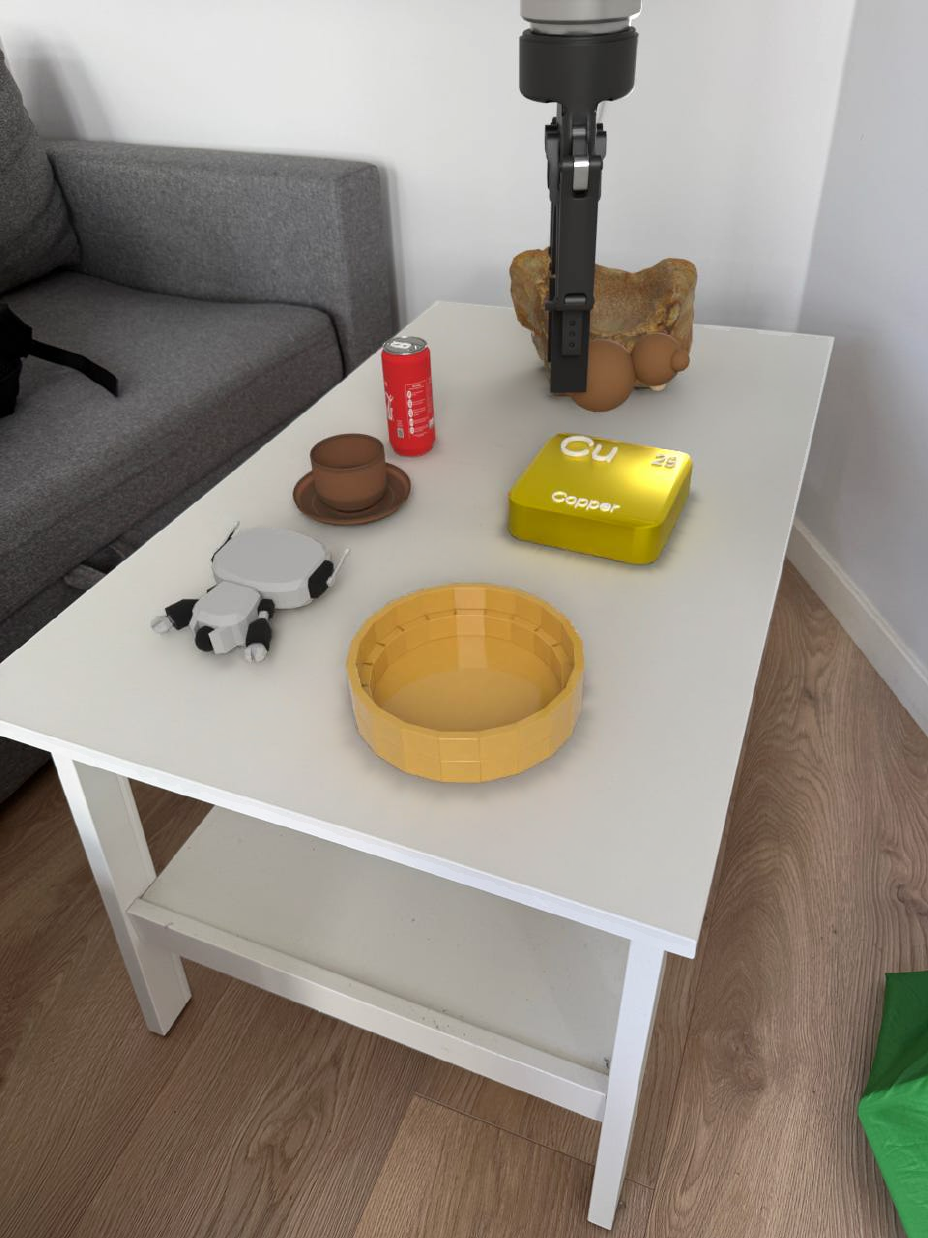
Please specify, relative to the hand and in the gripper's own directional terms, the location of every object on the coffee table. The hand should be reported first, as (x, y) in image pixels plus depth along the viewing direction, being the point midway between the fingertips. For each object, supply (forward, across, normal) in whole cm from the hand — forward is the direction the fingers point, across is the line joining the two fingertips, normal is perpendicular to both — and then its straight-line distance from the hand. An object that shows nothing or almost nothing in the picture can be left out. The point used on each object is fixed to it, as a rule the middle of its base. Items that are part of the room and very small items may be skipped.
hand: (566, 374), depth 72 cm
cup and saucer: (+19, -12, -20) cm, 30 cm away
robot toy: (+19, +6, -27) cm, 33 cm away
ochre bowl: (+19, +17, -8) cm, 27 cm away
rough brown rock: (+19, -40, +6) cm, 45 cm away
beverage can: (+19, -24, -15) cm, 34 cm away
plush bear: (+1, 0, 0) cm, 1 cm away
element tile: (+19, -9, +4) cm, 22 cm away
